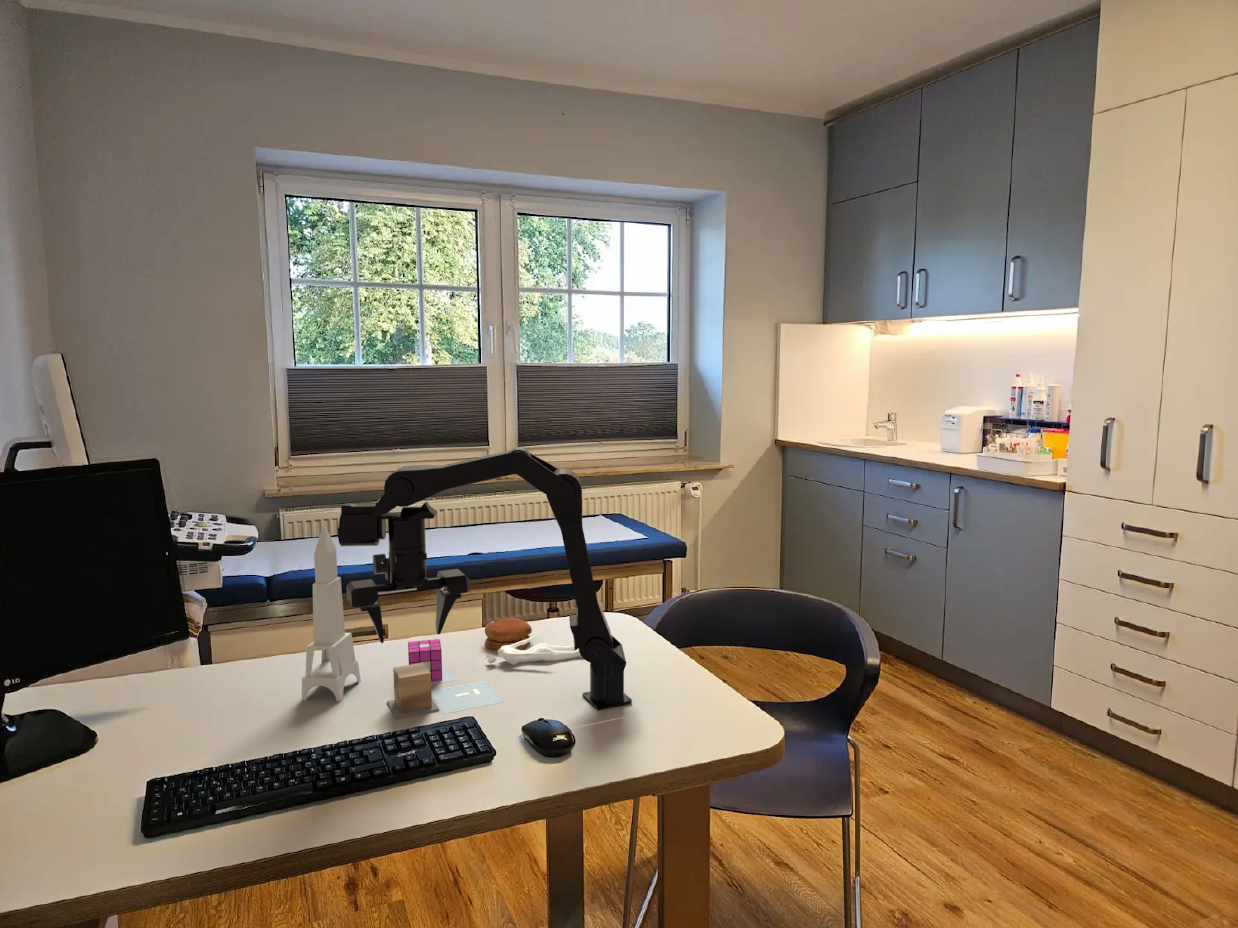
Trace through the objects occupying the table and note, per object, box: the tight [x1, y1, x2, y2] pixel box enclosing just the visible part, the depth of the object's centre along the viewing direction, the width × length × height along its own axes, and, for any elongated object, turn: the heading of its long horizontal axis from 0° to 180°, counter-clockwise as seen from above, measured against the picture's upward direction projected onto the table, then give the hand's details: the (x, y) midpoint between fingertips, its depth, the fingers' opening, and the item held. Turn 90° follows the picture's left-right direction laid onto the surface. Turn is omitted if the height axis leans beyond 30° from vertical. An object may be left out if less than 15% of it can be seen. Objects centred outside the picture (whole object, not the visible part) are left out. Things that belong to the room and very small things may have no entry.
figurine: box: [485, 634, 582, 666], centre depth 156 cm, size 10×4×25 cm
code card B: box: [431, 662, 457, 686], centre depth 147 cm, size 9×9×1 cm
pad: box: [386, 698, 440, 720], centre depth 134 cm, size 7×7×1 cm
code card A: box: [431, 680, 504, 715], centre depth 138 cm, size 10×10×1 cm
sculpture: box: [301, 522, 362, 703], centre depth 139 cm, size 7×8×30 cm
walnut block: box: [392, 663, 433, 714], centre depth 134 cm, size 5×5×6 cm
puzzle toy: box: [407, 638, 443, 681], centre depth 147 cm, size 6×6×6 cm
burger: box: [484, 617, 533, 651], centre depth 164 cm, size 10×9×5 cm
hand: (410, 637), depth 133 cm, fingers open, 9 cm apart
